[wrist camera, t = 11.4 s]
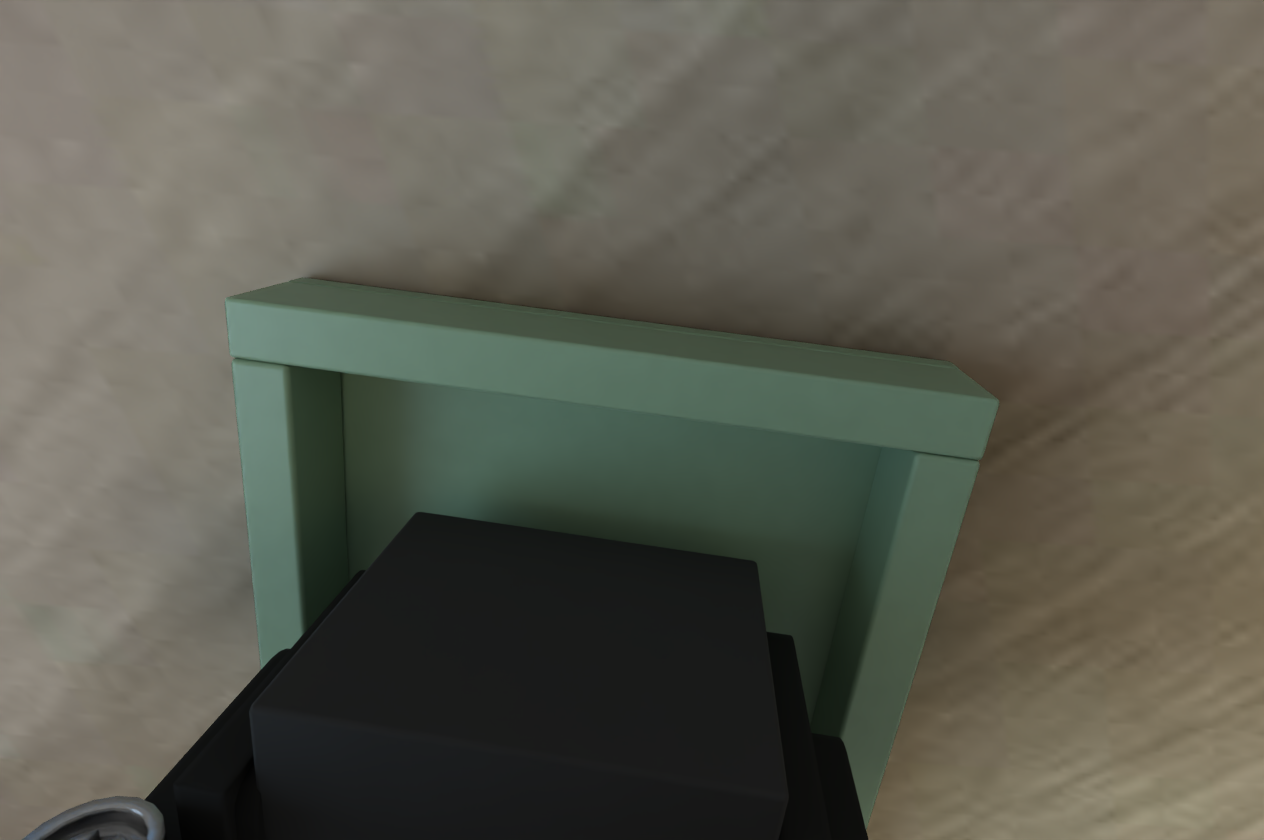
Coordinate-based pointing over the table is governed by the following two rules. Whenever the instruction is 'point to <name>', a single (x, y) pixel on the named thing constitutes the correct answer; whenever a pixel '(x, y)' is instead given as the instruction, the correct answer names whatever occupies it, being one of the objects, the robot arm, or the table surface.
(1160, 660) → the table surface
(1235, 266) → the table surface
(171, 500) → the table surface
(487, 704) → the black cube
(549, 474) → the tray
